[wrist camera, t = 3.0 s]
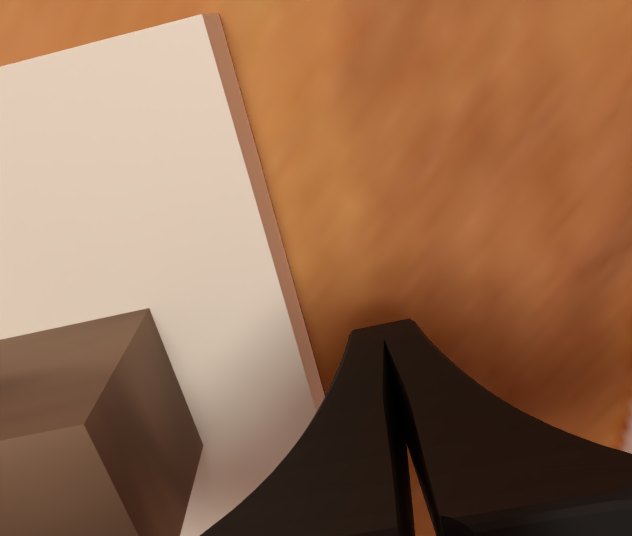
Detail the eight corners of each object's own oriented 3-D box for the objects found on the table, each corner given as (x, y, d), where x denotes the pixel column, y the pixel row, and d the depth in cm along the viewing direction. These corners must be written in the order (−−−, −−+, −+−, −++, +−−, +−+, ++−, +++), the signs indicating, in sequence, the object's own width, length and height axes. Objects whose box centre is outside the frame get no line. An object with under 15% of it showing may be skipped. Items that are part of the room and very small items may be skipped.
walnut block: (203, 445, 15) (165, 590, 11) (55, 473, 15) (-29, 622, 11) (149, 308, 13) (83, 424, 9) (-16, 343, 13) (-139, 468, 10)
